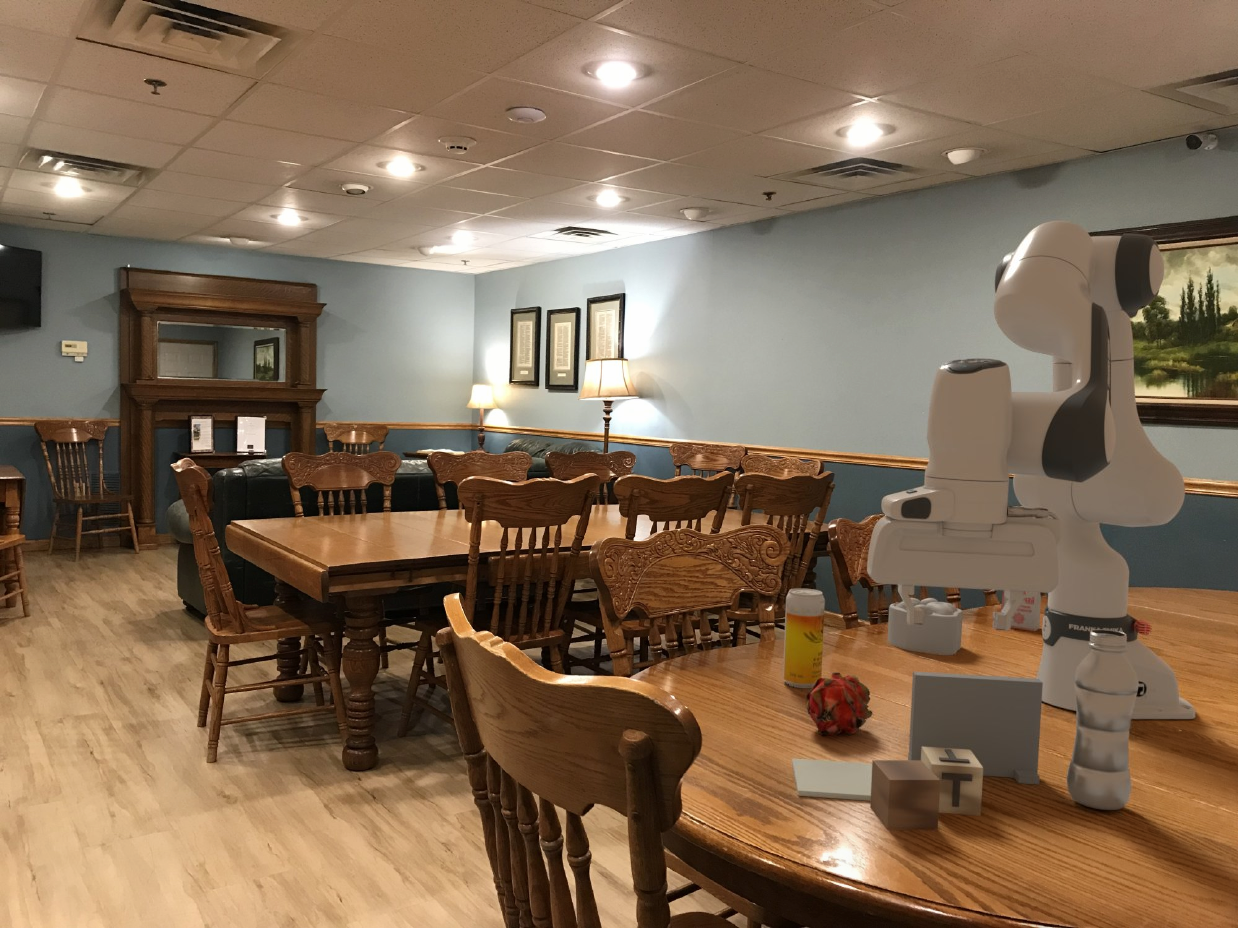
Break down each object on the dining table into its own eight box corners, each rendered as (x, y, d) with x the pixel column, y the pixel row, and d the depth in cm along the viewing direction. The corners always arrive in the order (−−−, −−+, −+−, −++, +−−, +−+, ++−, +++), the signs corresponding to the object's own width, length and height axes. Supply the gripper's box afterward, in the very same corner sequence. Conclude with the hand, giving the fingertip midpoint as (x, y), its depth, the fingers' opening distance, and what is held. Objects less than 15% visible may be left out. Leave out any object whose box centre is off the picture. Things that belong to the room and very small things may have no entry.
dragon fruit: (856, 729, 136) (828, 767, 126) (810, 688, 139) (779, 721, 129) (891, 691, 132) (865, 727, 122) (843, 649, 135) (813, 681, 125)
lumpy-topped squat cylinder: (953, 657, 172) (955, 610, 172) (881, 646, 179) (883, 601, 178) (963, 645, 181) (965, 600, 181) (894, 635, 188) (896, 592, 187)
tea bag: (1005, 622, 202) (1008, 576, 201) (1039, 628, 198) (1042, 580, 197) (1000, 625, 199) (1003, 578, 198) (1034, 631, 195) (1037, 583, 194)
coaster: (873, 768, 118) (874, 763, 117) (887, 801, 108) (887, 796, 108) (792, 762, 119) (792, 758, 119) (798, 795, 109) (798, 790, 109)
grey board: (1028, 768, 119) (1033, 674, 118) (1041, 784, 114) (1047, 686, 113) (905, 760, 121) (910, 667, 120) (913, 775, 116) (918, 678, 115)
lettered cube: (967, 795, 110) (970, 747, 110) (981, 816, 105) (983, 766, 104) (919, 792, 111) (921, 744, 110) (929, 813, 105) (932, 762, 105)
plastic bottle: (1053, 793, 111) (1063, 625, 110) (1108, 793, 112) (1119, 626, 111) (1085, 817, 105) (1096, 639, 104) (1143, 817, 106) (1155, 640, 104)
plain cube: (918, 808, 106) (920, 760, 106) (937, 830, 101) (940, 779, 101) (870, 808, 106) (872, 760, 106) (887, 830, 101) (889, 779, 100)
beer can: (821, 690, 149) (825, 596, 148) (782, 687, 151) (785, 593, 150) (820, 679, 155) (824, 589, 154) (783, 676, 156) (786, 586, 155)
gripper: (1052, 505, 108) (1044, 626, 108) (868, 497, 110) (862, 615, 111) (1072, 511, 101) (1064, 639, 102) (876, 502, 104) (870, 627, 104)
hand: (957, 626), depth 106 cm, fingers open, 8 cm apart
